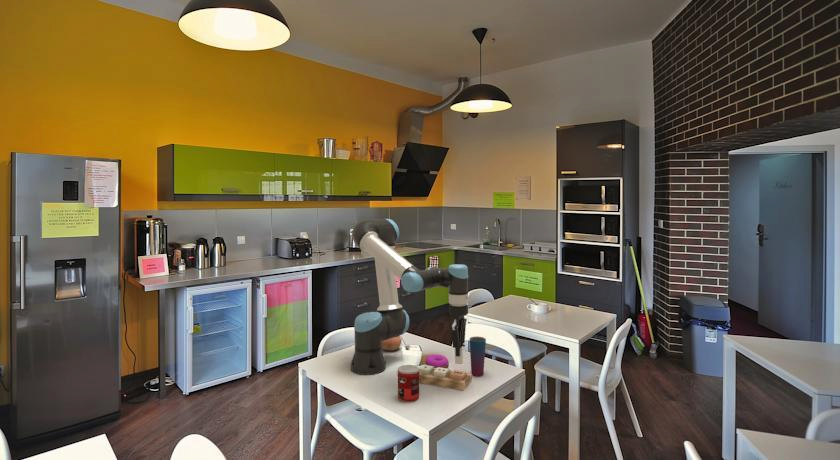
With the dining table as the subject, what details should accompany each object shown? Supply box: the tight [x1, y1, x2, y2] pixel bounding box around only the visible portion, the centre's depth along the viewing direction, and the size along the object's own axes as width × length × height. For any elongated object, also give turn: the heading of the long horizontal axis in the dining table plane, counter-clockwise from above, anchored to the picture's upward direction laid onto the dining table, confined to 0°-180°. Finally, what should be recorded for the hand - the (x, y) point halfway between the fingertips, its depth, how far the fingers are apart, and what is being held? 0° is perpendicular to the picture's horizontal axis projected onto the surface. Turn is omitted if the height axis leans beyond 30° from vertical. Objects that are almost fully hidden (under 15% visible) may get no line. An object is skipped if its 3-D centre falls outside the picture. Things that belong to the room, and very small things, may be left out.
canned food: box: [397, 364, 420, 403], centre depth 165 cm, size 8×8×11 cm
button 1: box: [418, 364, 434, 375], centre depth 183 cm, size 5×5×2 cm
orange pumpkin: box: [382, 335, 402, 351], centre depth 218 cm, size 11×11×8 cm
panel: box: [419, 368, 473, 391], centre depth 180 cm, size 22×10×3 cm, turn 66°
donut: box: [425, 353, 450, 368], centre depth 196 cm, size 10×10×4 cm
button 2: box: [434, 367, 450, 378], centre depth 180 cm, size 5×5×2 cm
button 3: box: [450, 369, 467, 381], centre depth 177 cm, size 5×5×2 cm
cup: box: [469, 335, 487, 377], centre depth 187 cm, size 7×7×15 cm
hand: (458, 363), depth 176 cm, fingers closed
